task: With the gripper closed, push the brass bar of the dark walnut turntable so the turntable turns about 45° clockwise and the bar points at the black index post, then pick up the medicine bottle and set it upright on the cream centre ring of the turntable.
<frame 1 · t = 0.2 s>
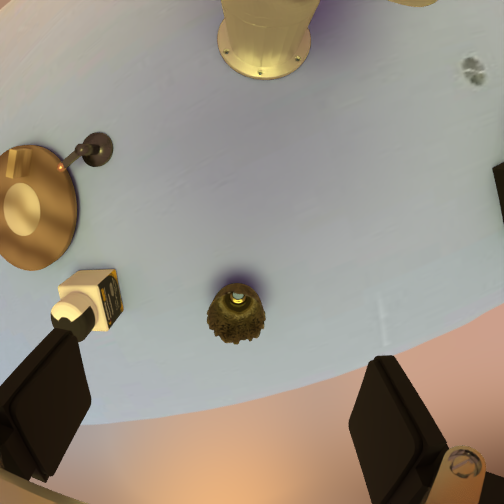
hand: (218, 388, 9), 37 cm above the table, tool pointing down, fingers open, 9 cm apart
index post: (98, 149, 42), on the table
brown textured pot: (238, 294, 48), on the table
turntable: (17, 210, 40), point 4 cm above the table, hinge at 0.0°
medicine bottle: (101, 289, 48), on the table
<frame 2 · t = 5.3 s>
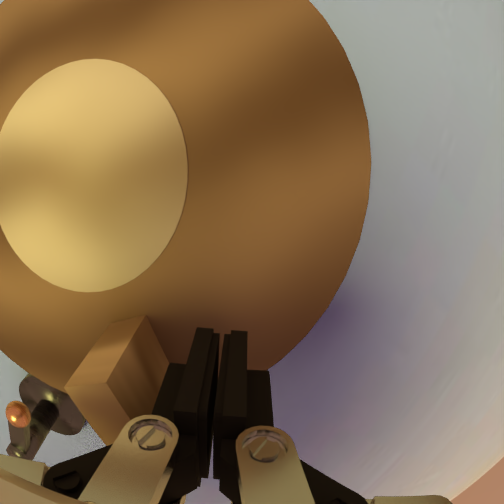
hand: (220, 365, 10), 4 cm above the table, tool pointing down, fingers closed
index post: (54, 401, 17), on the table
turntable: (57, 179, 9), point 4 cm above the table, hinge at -1.9°, touching gripper
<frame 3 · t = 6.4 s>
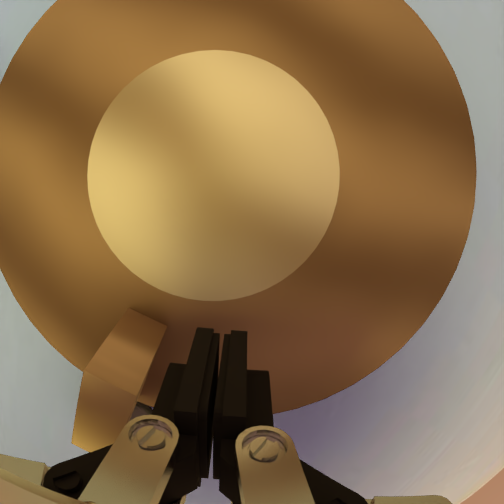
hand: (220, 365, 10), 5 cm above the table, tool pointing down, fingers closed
turntable: (202, 178, 9), point 4 cm above the table, hinge at -45.4°, touching gripper
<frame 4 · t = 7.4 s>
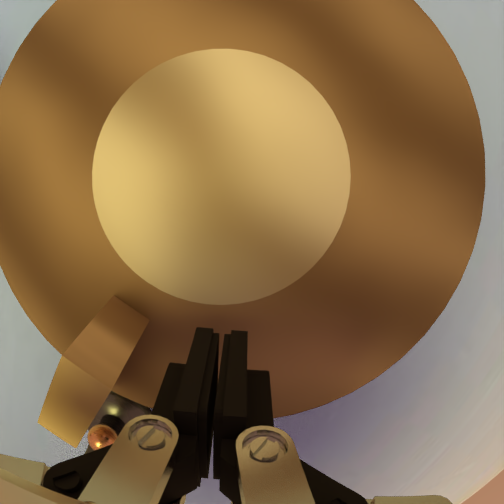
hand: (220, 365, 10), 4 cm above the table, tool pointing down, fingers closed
index post: (117, 415, 17), on the table
turntable: (212, 180, 9), point 4 cm above the table, hinge at -53.6°
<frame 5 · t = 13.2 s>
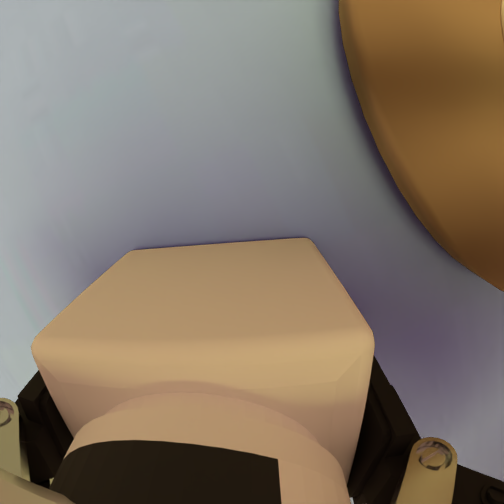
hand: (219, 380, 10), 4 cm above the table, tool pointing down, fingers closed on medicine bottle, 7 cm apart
medicine bottle: (226, 323, 13), on the table, touching gripper
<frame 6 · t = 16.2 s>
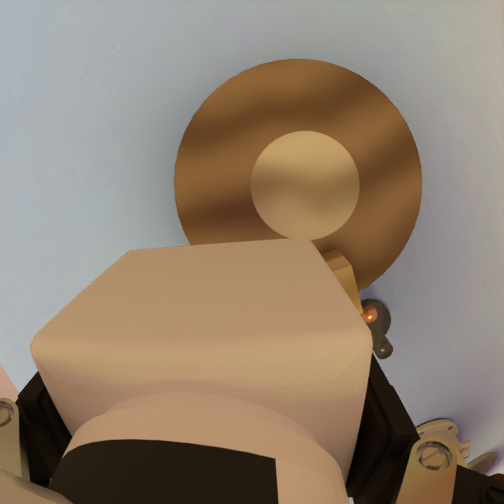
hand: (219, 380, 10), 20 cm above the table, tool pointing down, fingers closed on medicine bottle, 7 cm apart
index post: (365, 321, 31), on the table
turntable: (309, 187, 23), point 4 cm above the table, hinge at -53.6°
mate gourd: (473, 468, 43), on the table
medicine bottle: (225, 323, 13), point 16 cm above the table, touching gripper
when the fingers open (8 cm above the table, at t = 19.5 s): medicine bottle drops 1 cm, resting on turntable.
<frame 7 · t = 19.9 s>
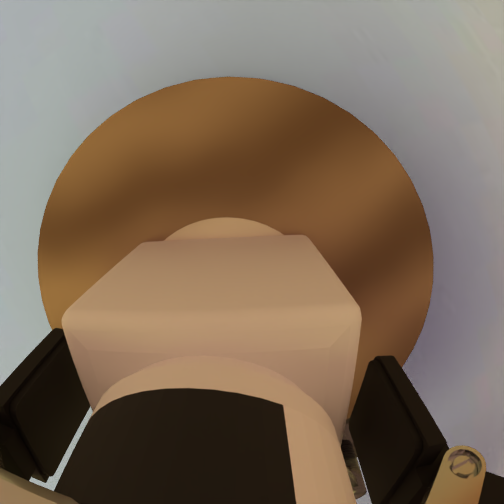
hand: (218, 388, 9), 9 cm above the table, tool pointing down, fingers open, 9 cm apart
index post: (339, 439, 21), on the table
turntable: (226, 321, 14), point 4 cm above the table, hinge at -53.6°, touching medicine bottle
medicine bottle: (228, 312, 15), point 3 cm above the table, touching turntable
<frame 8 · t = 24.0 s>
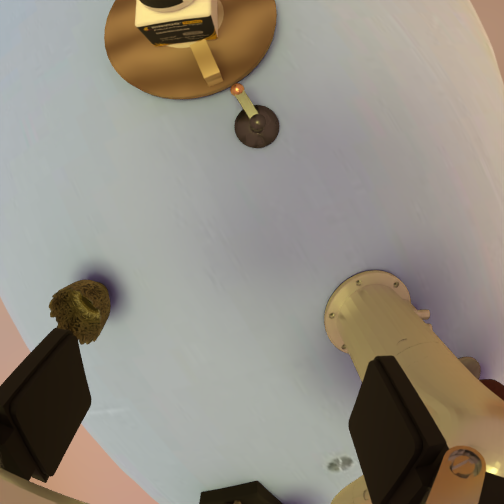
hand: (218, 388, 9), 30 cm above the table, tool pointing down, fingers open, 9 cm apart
index post: (256, 126, 35), on the table
brown textured pot: (99, 291, 41), on the table
coral: (260, 500, 56), on the table
turntable: (184, 13, 27), point 4 cm above the table, hinge at -53.6°, touching medicine bottle
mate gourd: (454, 380, 47), on the table
medicine bottle: (186, 17, 29), point 3 cm above the table, touching turntable
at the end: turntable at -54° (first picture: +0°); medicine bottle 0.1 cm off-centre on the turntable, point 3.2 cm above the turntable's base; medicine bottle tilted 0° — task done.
